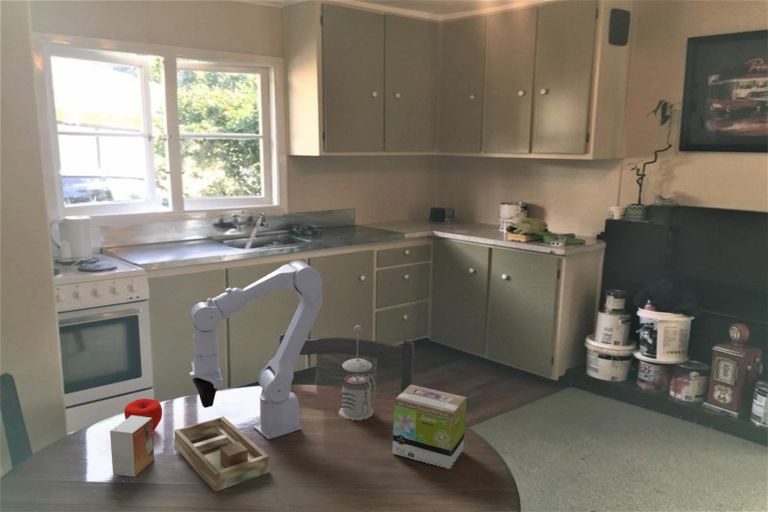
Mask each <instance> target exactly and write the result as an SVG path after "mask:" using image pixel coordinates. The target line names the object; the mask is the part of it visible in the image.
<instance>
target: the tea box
mask: <svg viewBox="0 0 768 512" xmlns="http://www.w3.org/2000/svg"><path fill="white" fill-rule="evenodd" d="M467 400H468V398H467V396H464V395H457V394H454V393H450V392H445V391H441V390H436V389H434V388H433V389H432V388H428V387H424V386H419V385H415V384H409V385H407V387H406V388H405V389H404V390H403V391H402V392H401V393H400V394H398V396H397V397H396V398H394V403H393V404H394V406H393V407H394V408H393V424H392V425H393V427H392V428H393V429H392V455H397V456H400V457H405V458H408V459H411V460H414V461H419V462H421V461H422V463H424V462H425V464H428V463H429V464H428V465H431V464H433V465H432V466H434V465H437V466H436V467H438V466H441V467H447V468H451V469H452V467H453V466H454V464H455V463H456V462H455V461H457V460H458V459H457V457H458V456H459V455H460V456H461V454H462V453H463V451H464V443H465V430H466V417H467V416H466V415H467ZM462 450H463V451H462ZM461 452H462V453H461ZM460 453H461V454H460ZM460 456H459V457H460ZM459 457H458V458H459ZM456 459H457V460H456ZM454 462H455V463H454ZM453 463H454V464H453ZM452 465H453V466H452ZM451 466H452V467H451ZM441 467H440V468H441Z"/></svg>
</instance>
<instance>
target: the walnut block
mask: <svg viewBox="0 0 768 512" xmlns="http://www.w3.org/2000/svg"><path fill="white" fill-rule="evenodd" d="M245 461H248V449H247V448H245V447H244V446H243V445H242V444H241V443H240V442H235V443H232V444H229V445H226V446H223V447H220V464H221V465H222V466H223V467H224V468H228V467H231V466H234V465H237V464H239V463H242V462H245Z"/></svg>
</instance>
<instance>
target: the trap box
mask: <svg viewBox="0 0 768 512" xmlns="http://www.w3.org/2000/svg"><path fill="white" fill-rule="evenodd" d="M173 431H174V438H173V447H174V448H175V449H176V450H177V451H178V450H179V451H178V452H179V453H180V454H181V455H182V457H184V459H185V460H186V461H187V462H188V464H190V466H191V467H192V468H193V469H194V470H195V471H196V472H197V474H199V475H200V477H201V478H202V479H203V480H204V482H206V484H207V485H208V486H209V487H210V488H211V489H212V490H213V491H214V492H215V493H216V492H218V491H222V490H223V489H224V490H225V489H227V488H230V487H233V486H235V485H238V484H241V483H243V482H246V481H249V480H252V479H256V478H258V477H260V476H262V475H266V474H269V473H271V464H270V455H268V454H267V453H266V452H265V451H264V450H263V449H261V448H260V447H259V446H258V445H257V444H255V443H254V442H253V441H252V440H251V439H250V438H249V437H248V436H246V435H245V434H244V433H243V432H242V431H241V430H240V429H239V428H238V427H236V426H235V425H234V424H233V423H231V422H230V421H229V419H227V418H226V417H225V416H223V415H222V416H220V417H216V418H212V419H209V420H205V421H201V422H198V423H195V424H192V425H188V426H184V427H181V428H177V429H174V430H173ZM235 442H240V443H241V444H242V445H243V446H244V447H245V448H247V449H248V461H245V462H242V463H239V464H237V465H234V466H231V467H228V468H224V467H223V466H222V465H221V464H220V447H223V446H226V445H229V444H232V443H235Z"/></svg>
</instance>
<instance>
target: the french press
mask: <svg viewBox="0 0 768 512" xmlns="http://www.w3.org/2000/svg"><path fill="white" fill-rule="evenodd" d="M354 330H355V331H356V333H357V334H356V358H351V359H348V360H346V361H344V362H343V363H342V364H341V366H342V368H343V370H345V371H346V372H350V373H352V374H348V375H346V376H345V377H344V378H343V381H344V382H343V383H342V391H341V392H342V401H341V402H342V405H341V406H342V407H341V408H340V409H339V410H340V411H339V410H338V415H339V416H340V415H341V416H342V417H344V418H343V419H345V418H347V419H352V420H351V421H354V420H357V421H363V420H362V419H365V418H368V417H370V416H372V415H373V416H374V414H375V411H374V409H373V408H372V407H371V405H372V404H371V403H372V401H371V400H373V399H374V398H375V396H376V389H377V387H376V382H375V379H374V377H373V375H371V373H368V375H364V374H358V373H363V372H367V371H369V370H371V369H372V367H373V364H372V362H370V361H368V360H366V359H364V358H358V356H359V332H360V331H361V330H362V326H361V325H358V324H357V325H355V326H354ZM353 373H355V374H353ZM370 378H371V379H372V381H373V385H374V393H373V396H372V383H371V382H370V381H371V379H370ZM364 386H369V387H364ZM356 387H357V388H356ZM359 387H362V388H359ZM373 411H374V412H373ZM373 413H374V414H373ZM341 416H340V417H341ZM373 416H372V417H373ZM342 417H341V418H342ZM370 418H371V417H370ZM347 419H346V420H347ZM358 419H359V420H358ZM365 420H366V419H365Z"/></svg>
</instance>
